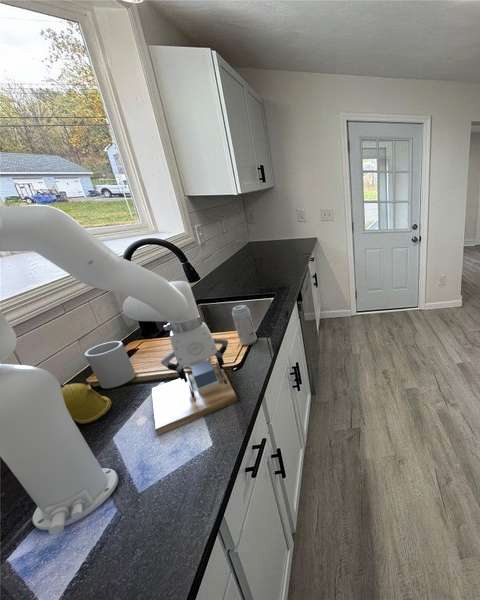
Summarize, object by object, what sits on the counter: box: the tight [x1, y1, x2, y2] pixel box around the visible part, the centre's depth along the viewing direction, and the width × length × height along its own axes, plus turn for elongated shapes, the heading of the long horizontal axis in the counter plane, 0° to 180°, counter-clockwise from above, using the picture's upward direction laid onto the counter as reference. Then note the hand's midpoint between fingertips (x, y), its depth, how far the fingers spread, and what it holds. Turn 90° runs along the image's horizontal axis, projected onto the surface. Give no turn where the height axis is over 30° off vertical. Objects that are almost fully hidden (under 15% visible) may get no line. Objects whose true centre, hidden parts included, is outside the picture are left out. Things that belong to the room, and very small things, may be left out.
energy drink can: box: [231, 304, 258, 346], centre depth 120 cm, size 6×6×15 cm
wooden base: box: [151, 361, 238, 436], centre depth 92 cm, size 22×19×4 cm
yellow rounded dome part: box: [60, 382, 112, 425], centre depth 84 cm, size 12×8×15 cm
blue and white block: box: [190, 359, 220, 393], centre depth 96 cm, size 11×6×5 cm, turn 39°
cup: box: [84, 340, 137, 389], centre depth 102 cm, size 9×9×12 cm
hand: (204, 373), depth 96 cm, fingers open, 9 cm apart
